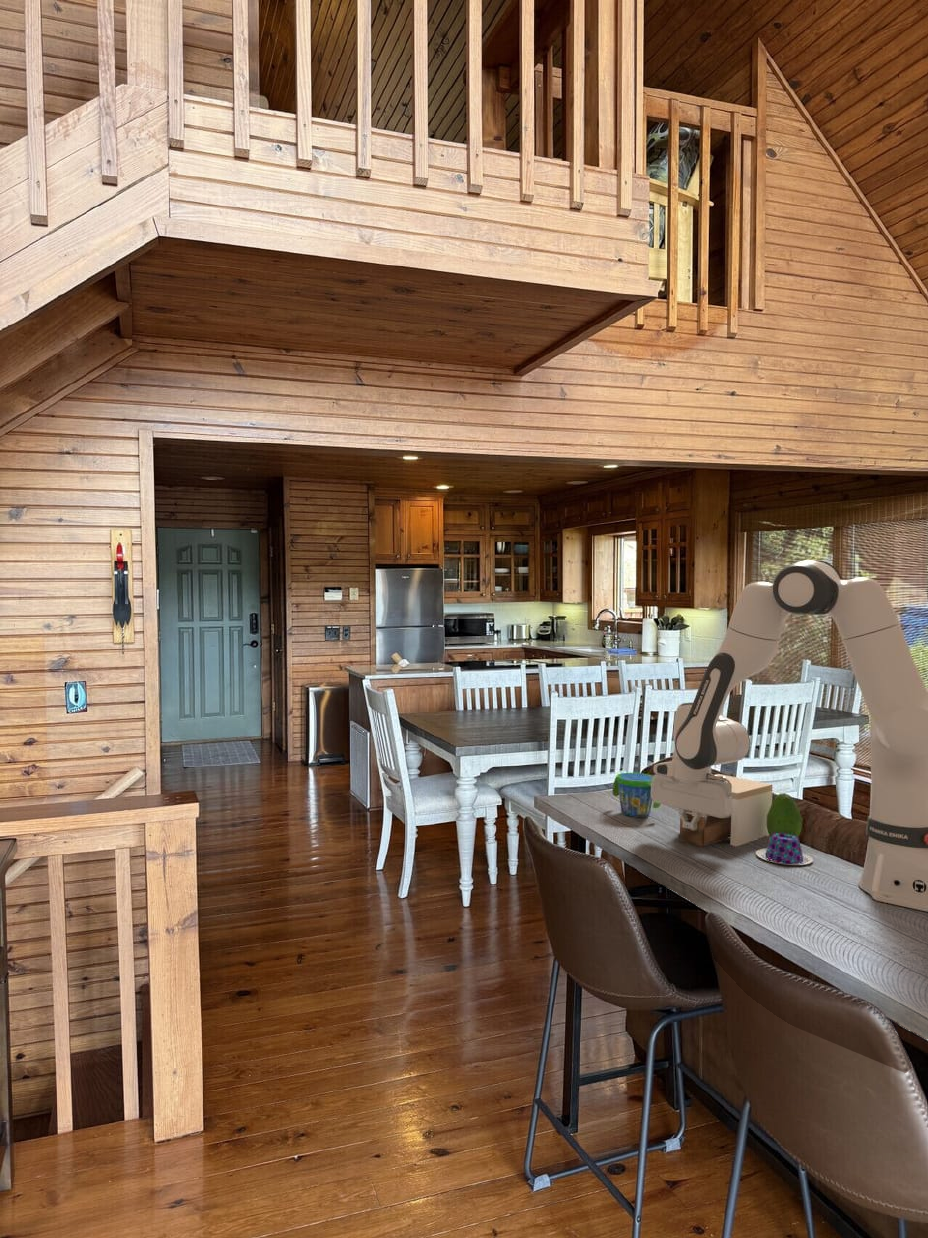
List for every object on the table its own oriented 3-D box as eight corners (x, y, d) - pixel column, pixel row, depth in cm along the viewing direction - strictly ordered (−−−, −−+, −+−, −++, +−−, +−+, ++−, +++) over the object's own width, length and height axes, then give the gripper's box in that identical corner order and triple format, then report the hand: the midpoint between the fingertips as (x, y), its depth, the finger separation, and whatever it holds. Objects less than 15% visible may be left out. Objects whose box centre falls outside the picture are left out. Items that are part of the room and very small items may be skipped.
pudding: (825, 865, 183) (826, 841, 183) (783, 870, 178) (783, 846, 178) (784, 849, 194) (785, 827, 194) (744, 854, 189) (744, 831, 189)
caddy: (744, 833, 206) (745, 803, 206) (701, 846, 193) (702, 814, 193) (722, 827, 210) (723, 798, 210) (679, 840, 198) (680, 809, 198)
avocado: (767, 846, 195) (768, 795, 195) (764, 837, 203) (765, 788, 202) (803, 849, 193) (805, 798, 193) (799, 840, 201) (801, 791, 200)
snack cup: (670, 819, 217) (672, 780, 217) (639, 823, 212) (640, 784, 212) (632, 805, 231) (633, 769, 231) (601, 809, 226) (602, 772, 226)
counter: (770, 835, 205) (772, 784, 205) (736, 846, 194) (737, 793, 194) (716, 821, 216) (718, 774, 216) (681, 832, 206) (682, 781, 205)
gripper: (739, 776, 189) (737, 837, 189) (663, 761, 204) (661, 817, 204) (724, 780, 185) (722, 841, 185) (647, 764, 200) (645, 821, 200)
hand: (689, 829), depth 195 cm, fingers closed, pressing on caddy
